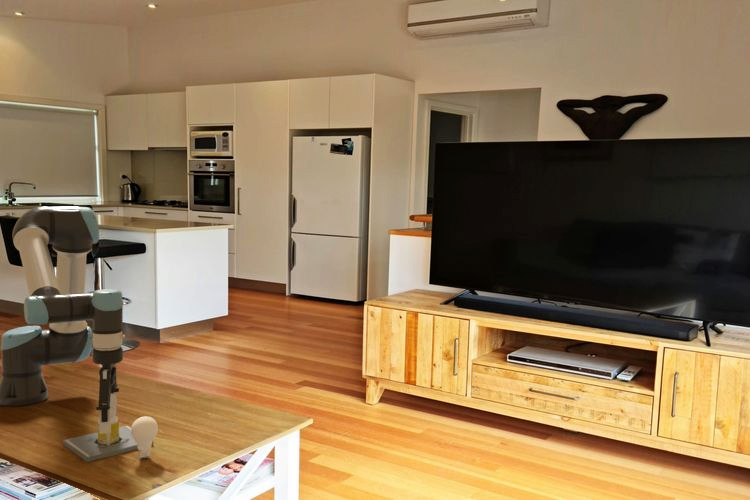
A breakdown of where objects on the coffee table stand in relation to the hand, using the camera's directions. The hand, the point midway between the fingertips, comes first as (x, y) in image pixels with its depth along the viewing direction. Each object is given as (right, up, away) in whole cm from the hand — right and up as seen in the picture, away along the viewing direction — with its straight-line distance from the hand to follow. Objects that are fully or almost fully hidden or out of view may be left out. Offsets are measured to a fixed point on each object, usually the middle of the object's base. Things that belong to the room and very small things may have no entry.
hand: (108, 424), depth 185 cm
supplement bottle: (0, -6, +1) cm, 6 cm away
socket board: (0, -6, +1) cm, 6 cm away
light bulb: (+12, -7, -8) cm, 16 cm away
